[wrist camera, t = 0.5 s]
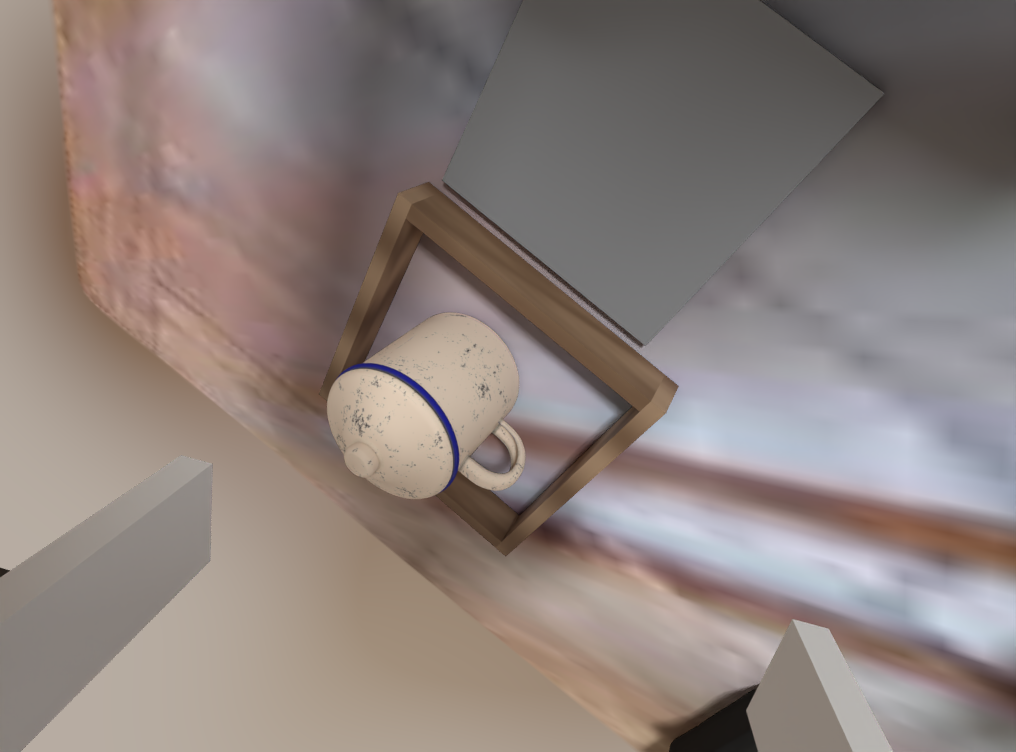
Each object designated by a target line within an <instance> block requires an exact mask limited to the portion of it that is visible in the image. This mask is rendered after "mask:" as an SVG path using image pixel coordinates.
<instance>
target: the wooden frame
mask: <svg viewBox="0 0 1016 752" xmlns="http://www.w3.org/2000/svg"><path fill="white" fill-rule="evenodd" d="M423 233H424V234H425V235H426V236H428V237H429V238H430V239H431V240H432V241H434V242H435V243H436V244H437V245H439V246H440V247H441V248H442V249H443V250H445V251H446V252H447V253H448V254H449V255H451V256H452V257H453V258H454V259H455V260H457V261H458V262H459V263H460V264H462V265H463V266H464V267H465V268H466V269H468V270H469V271H470V272H471V273H472V274H474V275H475V276H476V277H477V278H478V279H480V280H481V281H482V282H483V283H485V284H486V285H487V286H488V287H489V288H491V289H492V290H493V291H494V292H495V293H497V294H498V295H499V296H500V297H501V298H503V299H504V300H505V301H506V302H508V303H509V304H510V305H511V306H512V307H514V308H515V309H516V310H517V311H518V312H520V313H521V314H522V315H523V316H524V317H526V318H527V319H528V320H529V321H530V322H532V323H533V324H534V325H535V326H537V327H538V328H539V329H540V330H541V331H543V332H544V333H545V334H546V335H547V336H549V337H550V338H551V339H552V340H553V341H555V342H556V343H557V344H558V345H560V346H561V347H562V348H563V349H564V350H566V351H567V352H568V353H569V354H570V355H572V356H573V357H574V358H575V359H576V360H578V361H579V362H580V363H581V364H583V365H584V366H585V367H586V368H587V369H589V370H590V371H591V372H592V373H593V374H595V375H596V376H597V377H598V378H599V379H601V380H602V381H603V382H604V383H606V384H607V385H608V386H609V387H610V388H612V389H613V390H614V391H615V392H616V393H618V394H619V395H620V396H621V397H622V398H624V399H625V400H626V401H627V402H628V403H630V404H631V405H632V406H633V407H631V408H630V409H629V410H628V411H627V412H626V413H625V414H624V415H623V416H622V417H621V418H620V419H619V420H618V421H617V422H616V423H615V424H614V425H613V426H612V427H611V428H610V429H609V430H608V431H607V432H606V433H605V434H604V435H602V436H601V437H600V438H599V439H598V440H597V441H596V442H595V443H594V444H593V445H592V446H591V447H590V448H589V449H588V450H587V451H586V452H585V453H584V454H583V455H582V456H581V457H580V458H579V459H578V460H577V461H576V462H575V463H573V464H572V465H571V466H570V467H569V468H568V469H567V470H566V471H565V472H564V473H563V474H562V475H561V476H560V477H559V478H558V479H557V480H556V481H555V482H554V483H553V484H552V485H551V486H550V487H549V488H548V489H547V490H546V491H544V492H543V493H542V494H541V495H540V496H539V497H538V498H537V499H536V500H535V501H534V502H533V503H532V504H531V505H530V506H529V507H528V508H527V509H526V510H525V511H524V512H523V513H522V514H521V515H520V516H519V515H518V514H517V513H516V512H515V511H513V510H512V509H511V508H510V507H509V506H508V505H506V504H505V503H504V502H503V501H502V500H501V499H499V498H498V497H497V496H496V495H495V494H494V493H492V492H491V491H490V490H488V489H485V488H482V487H480V486H478V485H476V484H475V483H473V482H472V481H470V480H469V479H468V478H467V477H465V476H464V475H463V474H462V473H461V472H459V471H457V474H456V477H455V479H454V480H453V482H452V483H451V485H450V486H449V487H448V488H447V489H445V490H444V491H442V492H440V493H438V494H436V496H437V497H438V498H439V499H440V500H441V501H442V502H444V503H445V504H446V505H447V506H448V507H449V508H451V509H452V510H453V511H454V512H455V513H456V514H457V515H459V516H460V517H461V518H462V519H463V520H464V521H465V522H467V523H468V524H469V525H470V526H471V527H472V528H474V529H475V530H476V531H477V532H478V533H479V534H480V535H482V536H483V537H484V538H485V539H486V540H487V541H489V542H490V543H491V544H492V545H493V546H494V547H495V548H497V549H498V550H499V551H500V552H501V553H502V554H503V555H505V556H507V555H508V554H509V553H510V552H511V551H512V550H513V549H515V548H516V547H517V546H518V545H519V544H520V543H521V542H522V541H523V540H525V539H526V538H527V537H528V536H529V535H530V534H531V533H532V532H534V531H535V530H536V529H537V528H538V527H539V526H540V525H541V524H542V523H544V522H545V521H546V520H547V519H548V518H549V517H550V516H551V515H553V514H554V513H555V512H556V511H557V510H558V509H559V508H560V507H561V506H563V505H564V504H565V503H566V502H567V501H568V500H569V499H570V498H572V497H573V496H574V495H575V494H576V493H577V492H578V491H579V490H580V489H582V488H583V487H584V486H585V485H586V484H587V483H588V482H589V481H591V480H592V479H593V478H594V477H595V476H596V475H597V474H598V473H599V472H601V471H602V470H603V469H604V468H605V467H606V466H607V465H608V464H610V463H611V462H612V461H613V460H614V459H615V458H616V457H617V456H618V455H620V454H621V453H622V452H623V451H624V450H625V449H626V448H627V447H629V446H630V445H631V444H632V443H633V442H634V441H635V440H636V439H637V438H639V437H640V436H641V435H642V434H643V433H644V432H645V431H646V430H648V429H649V428H650V427H651V426H652V425H653V424H654V423H655V422H656V421H658V420H659V419H660V418H661V417H662V416H663V415H664V414H665V413H666V412H667V410H668V407H669V405H670V403H671V401H672V399H673V397H674V395H675V393H676V391H677V389H678V387H679V386H678V385H677V384H675V383H674V382H673V381H672V380H670V379H669V378H668V377H667V376H666V375H664V374H663V373H662V372H661V371H659V370H658V369H657V368H656V367H655V366H653V365H652V364H651V363H650V362H648V361H647V360H646V359H645V358H644V357H642V356H641V355H640V354H639V353H637V352H636V351H635V350H634V349H633V348H631V347H630V346H629V345H628V344H626V343H625V342H624V341H623V340H621V339H620V338H619V337H618V336H617V335H615V334H614V333H613V332H612V331H610V330H609V329H608V328H607V327H606V326H604V325H603V324H602V323H601V322H599V321H598V320H597V319H596V318H595V317H593V316H592V315H591V314H590V313H588V312H587V311H586V310H585V309H584V308H582V307H581V306H580V305H579V304H577V303H576V302H575V301H574V300H573V299H571V298H570V297H569V296H568V295H566V294H565V293H564V292H563V291H562V290H560V289H559V288H558V287H557V286H555V285H554V284H553V283H552V282H551V281H549V280H548V279H547V278H546V277H544V276H543V275H542V274H541V273H540V272H538V271H537V270H536V269H535V268H533V267H532V266H531V265H530V264H528V263H527V262H526V261H525V260H524V259H522V258H521V257H520V256H519V255H517V254H516V253H515V252H514V251H513V250H511V249H510V248H509V247H508V246H506V245H505V244H504V243H503V242H502V241H500V240H499V239H498V238H497V237H495V236H494V235H493V234H492V233H491V232H489V231H488V230H487V229H486V228H484V227H483V226H482V225H481V224H480V223H478V222H477V221H476V220H475V219H473V218H472V217H471V216H470V215H469V214H467V213H466V212H465V211H464V210H462V209H461V208H460V207H459V206H458V205H456V204H455V203H454V202H453V201H451V200H450V199H449V198H448V197H447V196H445V195H444V194H443V193H442V192H440V191H439V190H438V189H437V188H435V187H434V186H433V185H432V184H431V183H429V182H427V183H425V184H422V185H419V186H416V187H413V188H411V189H408V190H405V191H402V192H399V193H398V195H397V197H396V200H395V202H394V205H393V207H392V210H391V212H390V215H389V218H388V220H387V223H386V225H385V228H384V230H383V233H382V235H381V238H380V240H379V243H378V245H377V248H376V251H375V253H374V256H373V258H372V261H371V263H370V266H369V268H368V271H367V273H366V276H365V278H364V281H363V284H362V286H361V289H360V291H359V294H358V296H357V299H356V301H355V304H354V306H353V309H352V311H351V314H350V316H349V319H348V322H347V324H346V327H345V329H344V332H343V334H342V337H341V339H340V342H339V344H338V347H337V349H336V352H335V355H334V357H333V360H332V362H331V365H330V367H329V370H328V372H327V375H326V377H325V380H324V382H323V385H322V387H321V390H320V393H319V395H320V396H322V397H323V398H324V399H325V400H326V401H328V396H329V392H330V390H331V387H332V385H333V383H334V382H335V381H336V379H337V377H338V376H339V375H340V374H341V373H342V372H343V371H344V370H346V369H347V368H349V367H351V366H353V365H356V364H361V363H363V362H364V361H365V359H366V357H367V355H368V353H369V350H370V348H371V346H372V344H373V342H374V339H375V337H376V335H377V333H378V331H379V328H380V326H381V324H382V322H383V320H384V317H385V315H386V313H387V311H388V309H389V306H390V304H391V302H392V300H393V298H394V295H395V293H396V291H397V289H398V287H399V284H400V282H401V280H402V278H403V276H404V273H405V271H406V269H407V267H408V265H409V262H410V260H411V258H412V256H413V254H414V251H415V249H416V247H417V245H418V243H419V240H420V238H421V236H422V234H423Z"/></svg>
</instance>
